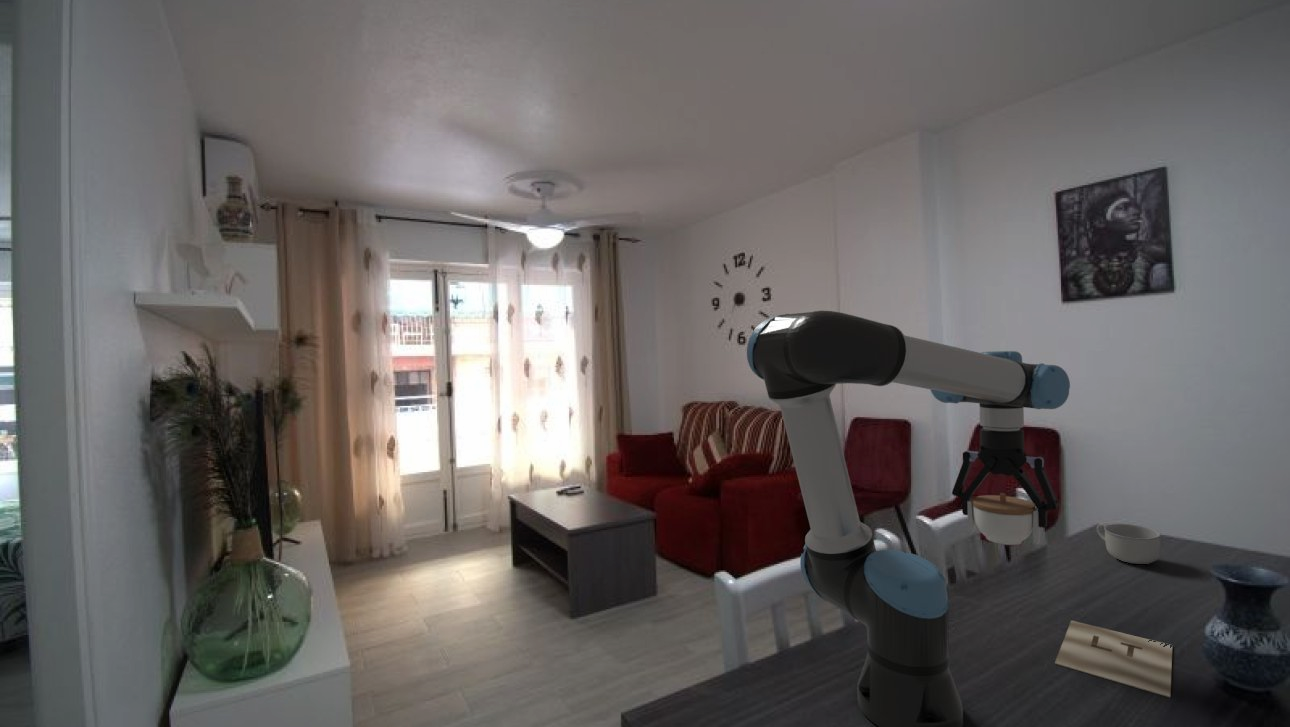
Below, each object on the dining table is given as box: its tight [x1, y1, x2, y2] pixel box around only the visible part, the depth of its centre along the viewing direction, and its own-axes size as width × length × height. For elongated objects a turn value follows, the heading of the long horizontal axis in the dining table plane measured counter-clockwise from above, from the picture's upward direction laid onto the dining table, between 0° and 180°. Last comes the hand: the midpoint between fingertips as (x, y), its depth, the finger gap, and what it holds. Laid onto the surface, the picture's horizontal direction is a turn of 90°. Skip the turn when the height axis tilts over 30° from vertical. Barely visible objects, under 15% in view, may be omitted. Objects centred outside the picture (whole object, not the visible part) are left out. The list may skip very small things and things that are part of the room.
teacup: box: [1096, 522, 1161, 565], centre depth 145 cm, size 14×11×8 cm
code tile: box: [1054, 620, 1173, 698], centre depth 102 cm, size 20×15×1 cm
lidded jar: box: [972, 492, 1036, 546], centre depth 114 cm, size 11×11×9 cm
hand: (1003, 536), depth 114 cm, fingers closed on lidded jar, 11 cm apart
